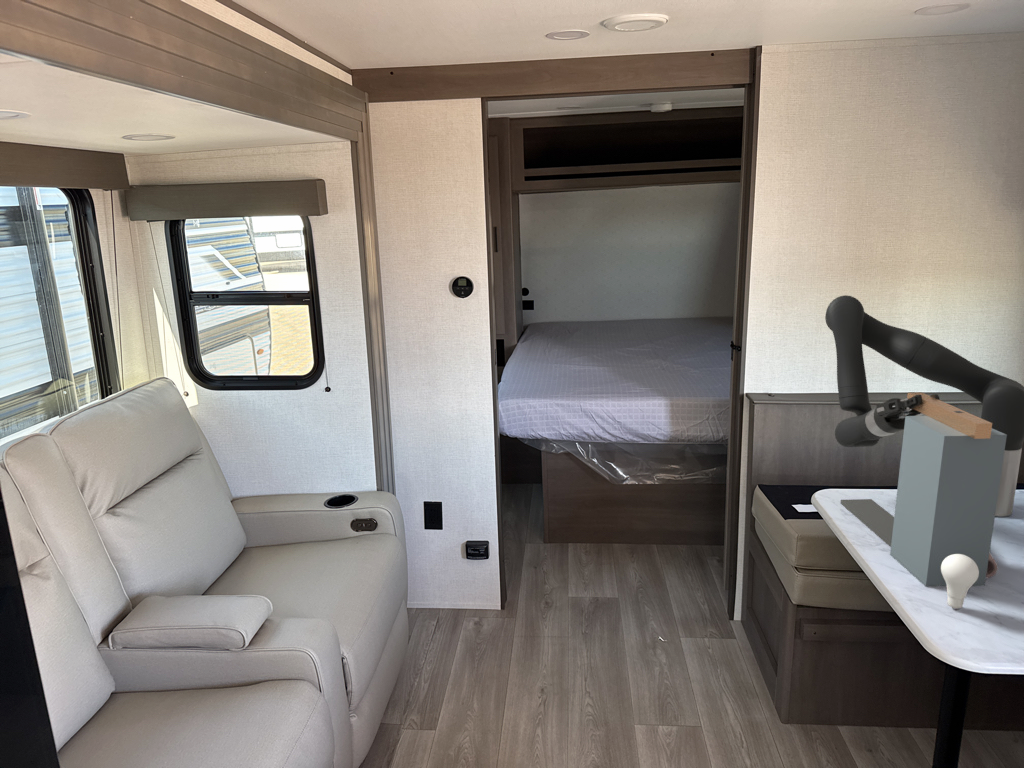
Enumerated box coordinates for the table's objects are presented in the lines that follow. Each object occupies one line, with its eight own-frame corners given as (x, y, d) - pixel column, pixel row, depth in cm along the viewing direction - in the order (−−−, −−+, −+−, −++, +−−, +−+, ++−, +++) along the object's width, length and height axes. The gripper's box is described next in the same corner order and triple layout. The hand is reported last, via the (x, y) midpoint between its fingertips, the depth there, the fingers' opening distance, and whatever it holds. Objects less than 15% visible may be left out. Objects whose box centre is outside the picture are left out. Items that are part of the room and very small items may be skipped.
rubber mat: (840, 503, 188) (840, 499, 187) (871, 502, 188) (871, 499, 187) (892, 548, 162) (892, 544, 162) (927, 547, 162) (927, 543, 162)
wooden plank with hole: (906, 405, 160) (907, 392, 159) (919, 405, 160) (921, 392, 159) (974, 438, 136) (976, 423, 136) (990, 438, 136) (992, 423, 136)
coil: (1001, 561, 147) (977, 525, 164) (975, 555, 148) (954, 521, 165) (995, 581, 148) (972, 543, 165) (969, 575, 150) (949, 539, 166)
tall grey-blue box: (890, 554, 159) (905, 416, 152) (944, 553, 159) (962, 415, 152) (925, 586, 146) (944, 436, 138) (984, 585, 146) (1006, 434, 138)
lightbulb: (929, 600, 141) (935, 549, 138) (958, 598, 141) (965, 547, 138) (950, 617, 135) (957, 564, 132) (981, 615, 135) (988, 562, 133)
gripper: (856, 403, 171) (893, 382, 155) (915, 402, 171) (958, 381, 155) (861, 434, 169) (899, 416, 153) (921, 432, 169) (965, 415, 152)
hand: (928, 398), depth 154 cm, fingers closed on wooden plank with hole, 3 cm apart
